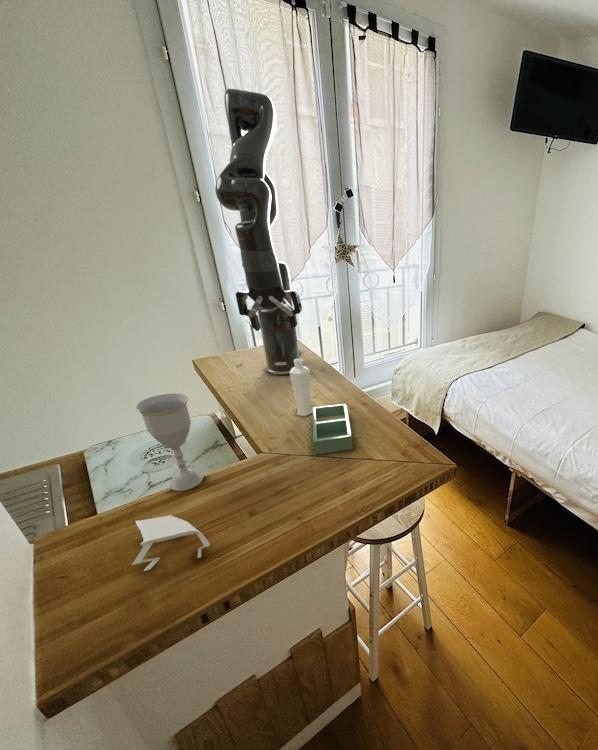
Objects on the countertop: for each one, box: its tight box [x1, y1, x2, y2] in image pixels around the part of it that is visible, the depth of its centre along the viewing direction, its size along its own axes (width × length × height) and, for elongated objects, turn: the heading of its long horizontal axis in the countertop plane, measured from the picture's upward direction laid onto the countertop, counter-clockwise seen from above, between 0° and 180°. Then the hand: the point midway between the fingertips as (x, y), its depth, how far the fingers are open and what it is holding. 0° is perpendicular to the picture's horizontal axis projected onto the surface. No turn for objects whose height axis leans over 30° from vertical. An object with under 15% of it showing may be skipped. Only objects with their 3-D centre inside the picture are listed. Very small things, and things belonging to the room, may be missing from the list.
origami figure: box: [131, 514, 211, 572], centre depth 63 cm, size 12×8×5 cm
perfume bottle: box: [289, 357, 312, 417], centre depth 101 cm, size 5×4×15 cm
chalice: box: [135, 393, 204, 492], centre depth 74 cm, size 7×7×18 cm
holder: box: [311, 403, 354, 456], centre depth 96 cm, size 15×8×4 cm, turn 23°
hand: (275, 329), depth 104 cm, fingers open, 8 cm apart
